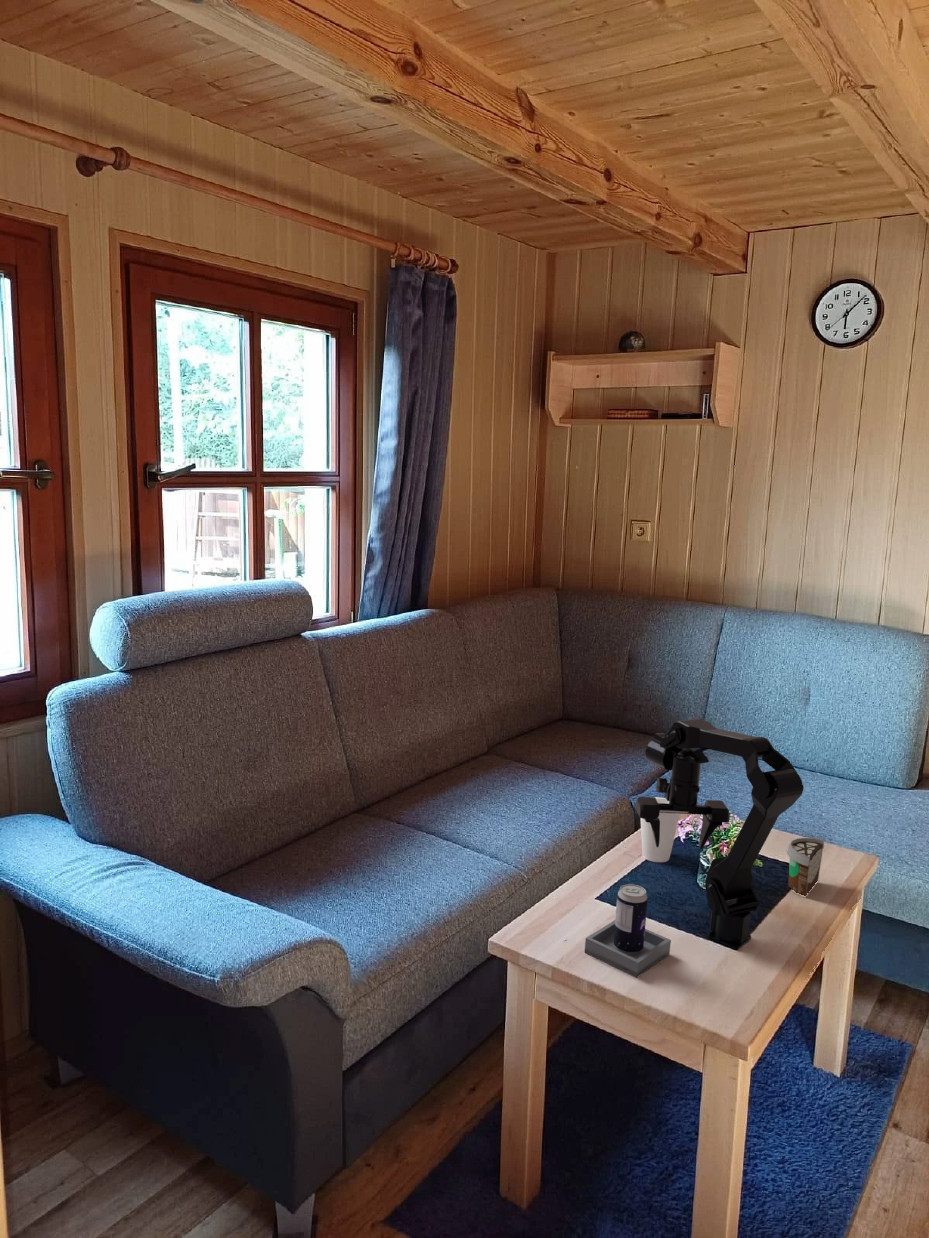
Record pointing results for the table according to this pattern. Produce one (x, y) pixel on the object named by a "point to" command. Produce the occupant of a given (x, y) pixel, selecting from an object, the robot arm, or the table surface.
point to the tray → (632, 964)
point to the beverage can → (630, 919)
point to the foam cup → (666, 836)
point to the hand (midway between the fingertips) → (678, 847)
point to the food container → (804, 863)
